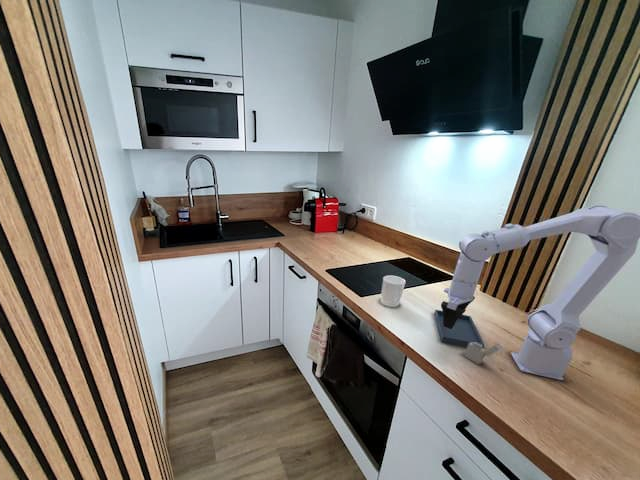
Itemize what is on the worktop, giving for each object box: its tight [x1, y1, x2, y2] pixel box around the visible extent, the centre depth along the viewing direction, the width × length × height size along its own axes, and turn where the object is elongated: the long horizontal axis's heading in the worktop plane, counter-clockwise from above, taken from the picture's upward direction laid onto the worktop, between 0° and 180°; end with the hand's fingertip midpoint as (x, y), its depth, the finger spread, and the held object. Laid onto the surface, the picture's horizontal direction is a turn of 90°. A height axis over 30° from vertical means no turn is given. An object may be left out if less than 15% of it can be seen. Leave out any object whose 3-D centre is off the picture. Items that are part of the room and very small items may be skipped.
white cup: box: [380, 274, 406, 308], centre depth 108 cm, size 8×8×10 cm
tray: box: [433, 309, 485, 349], centre depth 94 cm, size 11×17×2 cm, turn 160°
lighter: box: [463, 342, 503, 365], centre depth 79 cm, size 7×2×8 cm, turn 31°
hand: (451, 321), depth 81 cm, fingers open, 7 cm apart
